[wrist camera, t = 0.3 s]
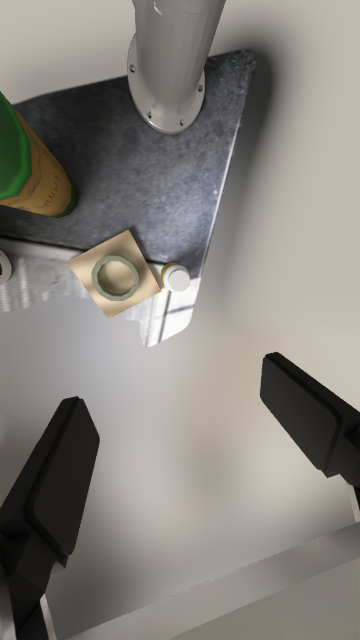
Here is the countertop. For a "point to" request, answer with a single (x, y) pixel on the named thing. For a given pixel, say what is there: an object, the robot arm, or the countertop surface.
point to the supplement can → (4, 268)
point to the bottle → (30, 169)
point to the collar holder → (115, 274)
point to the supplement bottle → (175, 277)
